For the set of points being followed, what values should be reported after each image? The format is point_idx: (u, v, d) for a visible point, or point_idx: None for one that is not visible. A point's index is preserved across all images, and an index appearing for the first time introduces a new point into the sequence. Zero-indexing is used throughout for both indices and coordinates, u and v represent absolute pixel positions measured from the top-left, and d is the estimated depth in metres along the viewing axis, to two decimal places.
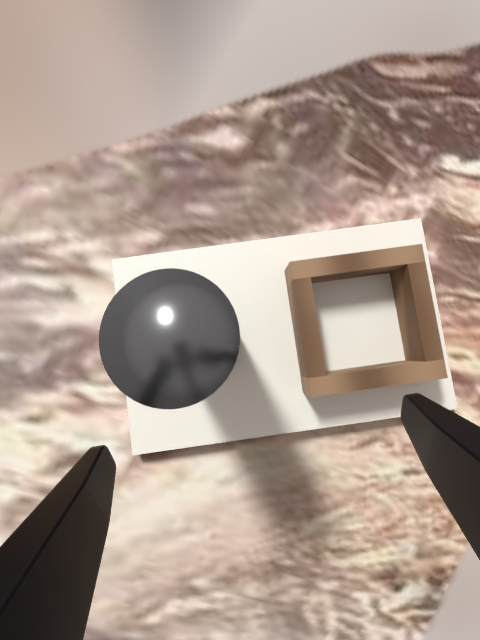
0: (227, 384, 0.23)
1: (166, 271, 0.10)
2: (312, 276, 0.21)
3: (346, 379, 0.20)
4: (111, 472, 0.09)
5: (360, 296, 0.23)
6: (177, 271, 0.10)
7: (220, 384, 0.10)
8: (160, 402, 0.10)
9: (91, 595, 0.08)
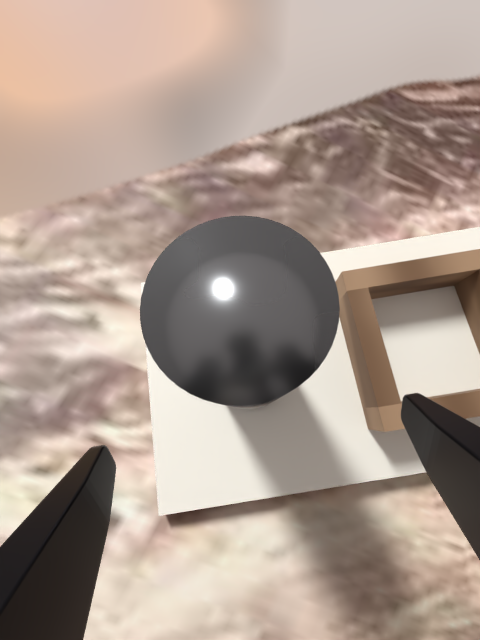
0: (274, 421, 0.19)
1: (231, 220, 0.08)
2: (369, 287, 0.18)
3: None
4: (111, 472, 0.09)
5: (424, 313, 0.20)
6: (245, 219, 0.08)
7: (316, 366, 0.07)
8: (228, 395, 0.07)
9: (91, 595, 0.08)
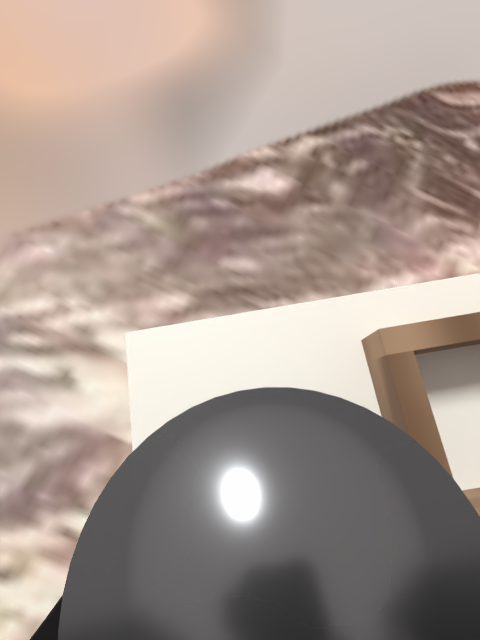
0: None
1: (260, 396, 0.04)
2: (415, 349, 0.14)
3: None
4: None
5: (477, 374, 0.16)
6: (291, 395, 0.04)
7: None
8: None
9: None
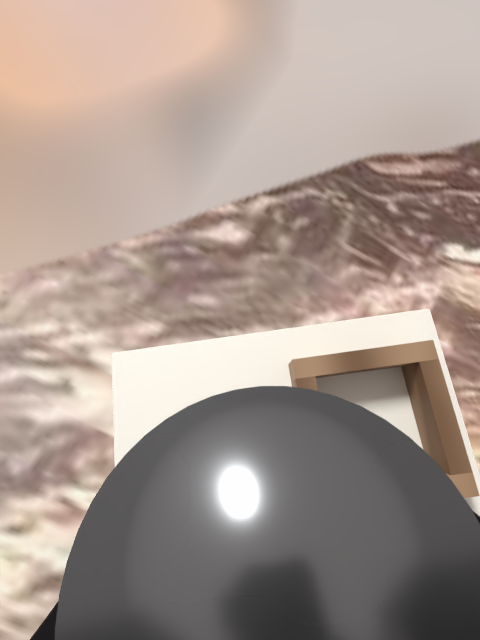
0: None
1: (256, 395, 0.04)
2: (317, 375, 0.20)
3: None
4: None
5: (371, 392, 0.22)
6: (287, 394, 0.04)
7: None
8: None
9: None
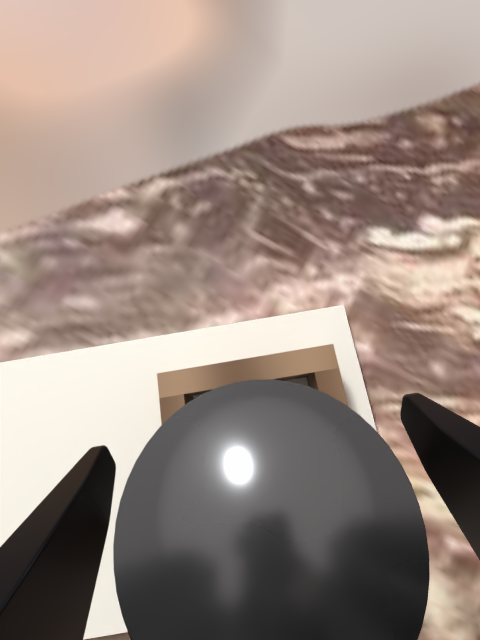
0: None
1: (252, 386, 0.05)
2: (186, 392, 0.16)
3: None
4: (111, 472, 0.09)
5: None
6: (274, 385, 0.05)
7: None
8: None
9: (91, 595, 0.08)
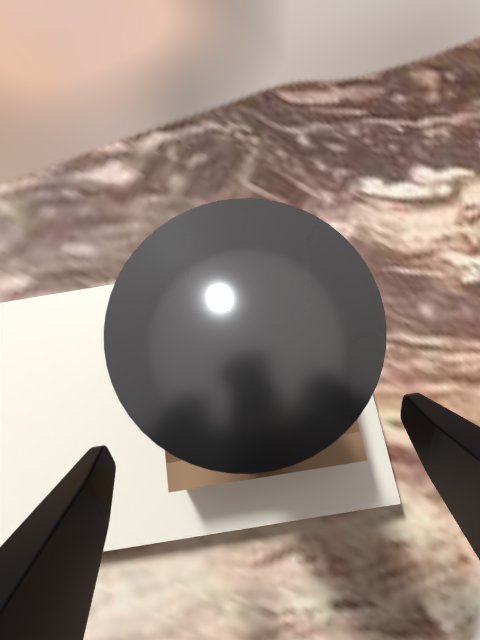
0: None
1: (231, 204, 0.06)
2: None
3: None
4: (111, 472, 0.09)
5: None
6: (251, 203, 0.06)
7: (355, 415, 0.05)
8: (227, 457, 0.05)
9: (91, 596, 0.08)
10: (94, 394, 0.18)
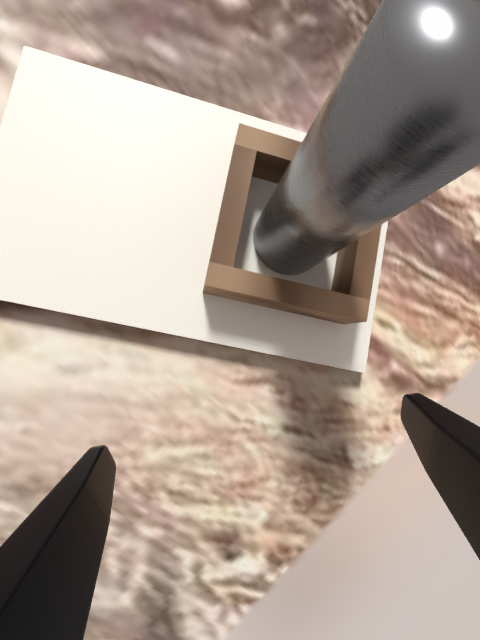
0: (114, 250, 0.18)
1: None
2: (259, 151, 0.17)
3: (254, 280, 0.16)
4: (111, 472, 0.09)
5: None
6: None
7: None
8: (452, 112, 0.06)
9: (91, 595, 0.08)
10: (145, 191, 0.18)
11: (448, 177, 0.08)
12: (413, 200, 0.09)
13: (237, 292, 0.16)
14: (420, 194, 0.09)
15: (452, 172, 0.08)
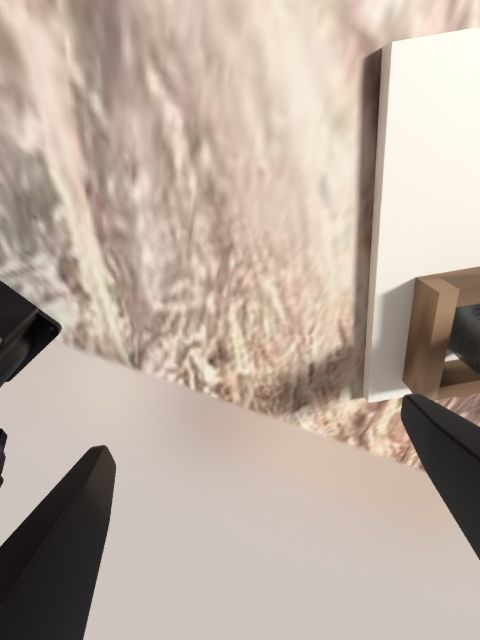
0: (448, 190, 0.19)
1: None
2: None
3: (445, 325, 0.20)
4: (111, 472, 0.09)
5: None
6: None
7: None
8: None
9: (91, 595, 0.08)
10: None
11: None
12: None
13: (434, 316, 0.20)
14: None
15: None
